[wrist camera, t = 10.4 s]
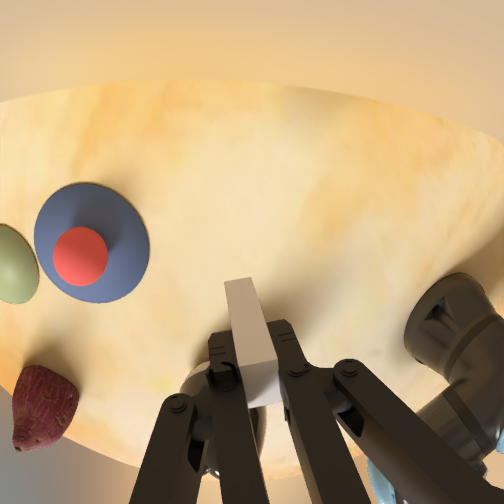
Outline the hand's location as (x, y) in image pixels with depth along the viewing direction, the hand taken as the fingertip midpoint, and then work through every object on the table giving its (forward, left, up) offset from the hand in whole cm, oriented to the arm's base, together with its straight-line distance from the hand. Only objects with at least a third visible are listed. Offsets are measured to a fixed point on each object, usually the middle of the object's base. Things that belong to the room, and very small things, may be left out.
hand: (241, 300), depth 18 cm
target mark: (+14, 0, -14) cm, 20 cm away
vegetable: (+30, +20, -14) cm, 39 cm away
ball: (+14, 0, -11) cm, 18 cm away
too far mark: (+26, 0, -14) cm, 29 cm away
